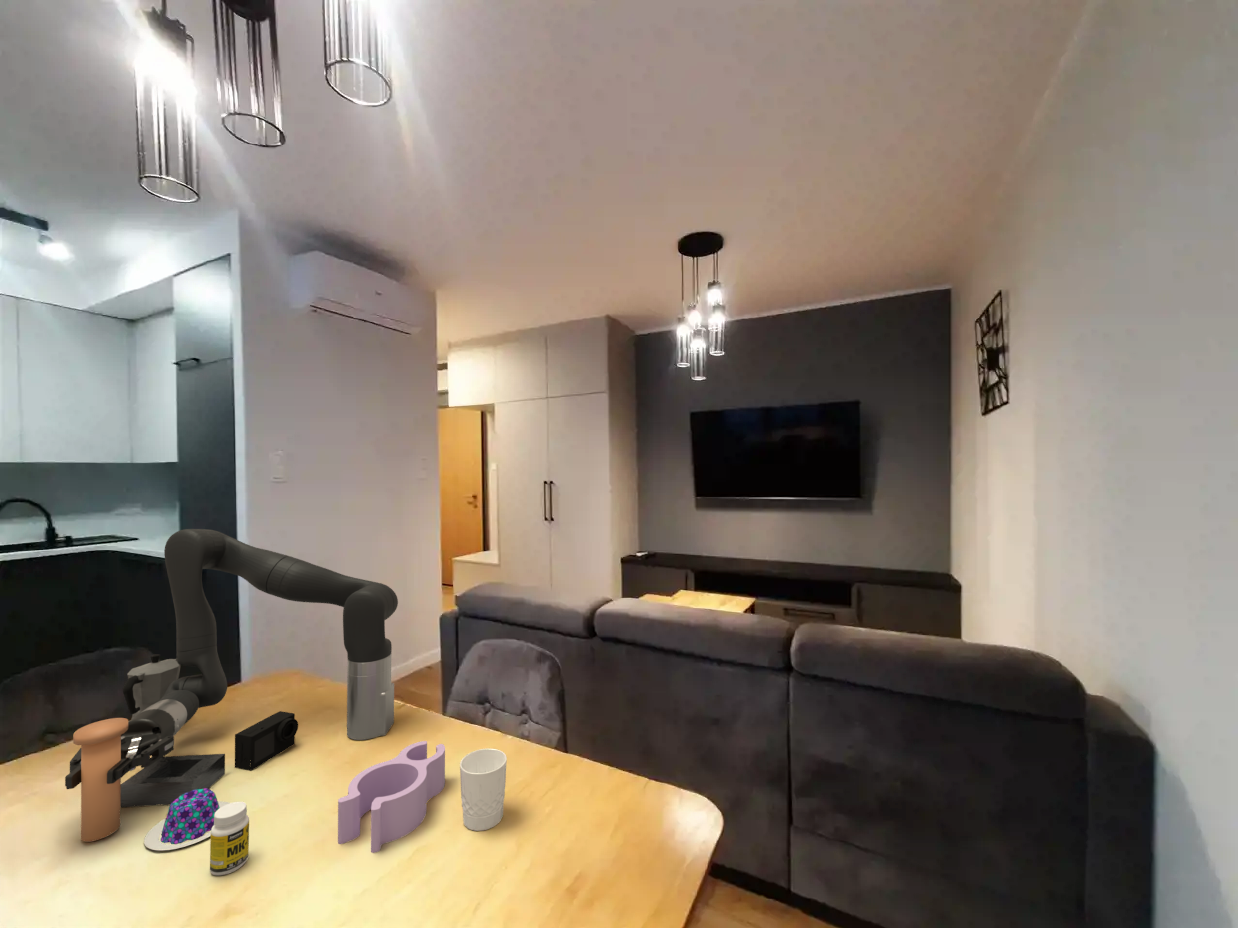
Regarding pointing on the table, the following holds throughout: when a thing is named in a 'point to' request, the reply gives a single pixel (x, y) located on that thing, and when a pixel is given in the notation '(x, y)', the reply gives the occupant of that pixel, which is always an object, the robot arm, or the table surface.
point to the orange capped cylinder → (100, 777)
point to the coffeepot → (149, 683)
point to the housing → (171, 779)
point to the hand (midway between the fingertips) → (90, 780)
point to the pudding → (185, 820)
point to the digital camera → (265, 740)
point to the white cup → (483, 788)
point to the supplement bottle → (229, 838)
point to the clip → (392, 795)
